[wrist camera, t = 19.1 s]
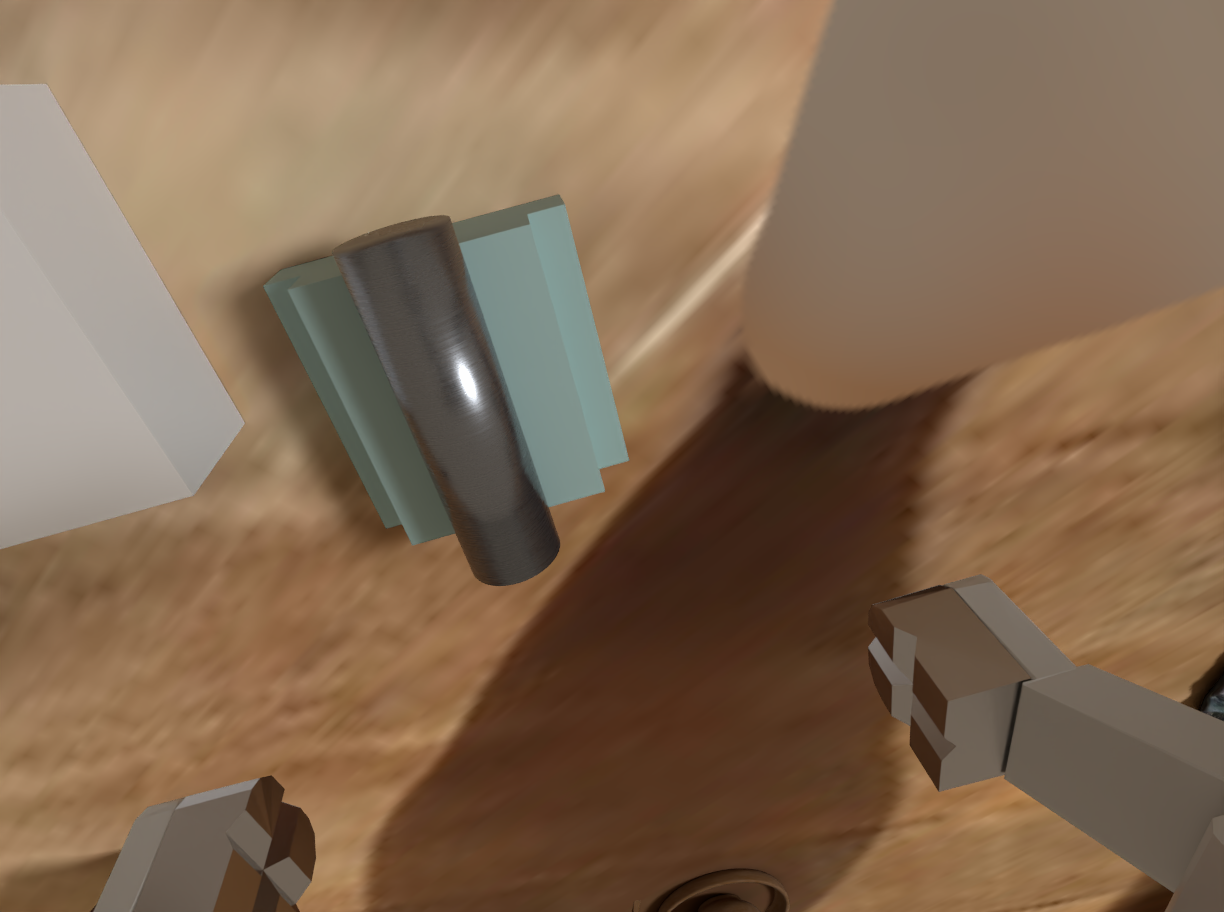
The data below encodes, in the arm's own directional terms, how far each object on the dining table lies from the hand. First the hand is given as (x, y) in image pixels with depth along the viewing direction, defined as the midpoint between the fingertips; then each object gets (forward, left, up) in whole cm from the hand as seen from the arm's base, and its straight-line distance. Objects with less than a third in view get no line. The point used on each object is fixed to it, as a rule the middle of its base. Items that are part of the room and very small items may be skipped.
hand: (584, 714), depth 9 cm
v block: (+3, -3, -24) cm, 24 cm away
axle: (+3, -3, -20) cm, 20 cm away
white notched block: (-4, -19, -24) cm, 31 cm away
